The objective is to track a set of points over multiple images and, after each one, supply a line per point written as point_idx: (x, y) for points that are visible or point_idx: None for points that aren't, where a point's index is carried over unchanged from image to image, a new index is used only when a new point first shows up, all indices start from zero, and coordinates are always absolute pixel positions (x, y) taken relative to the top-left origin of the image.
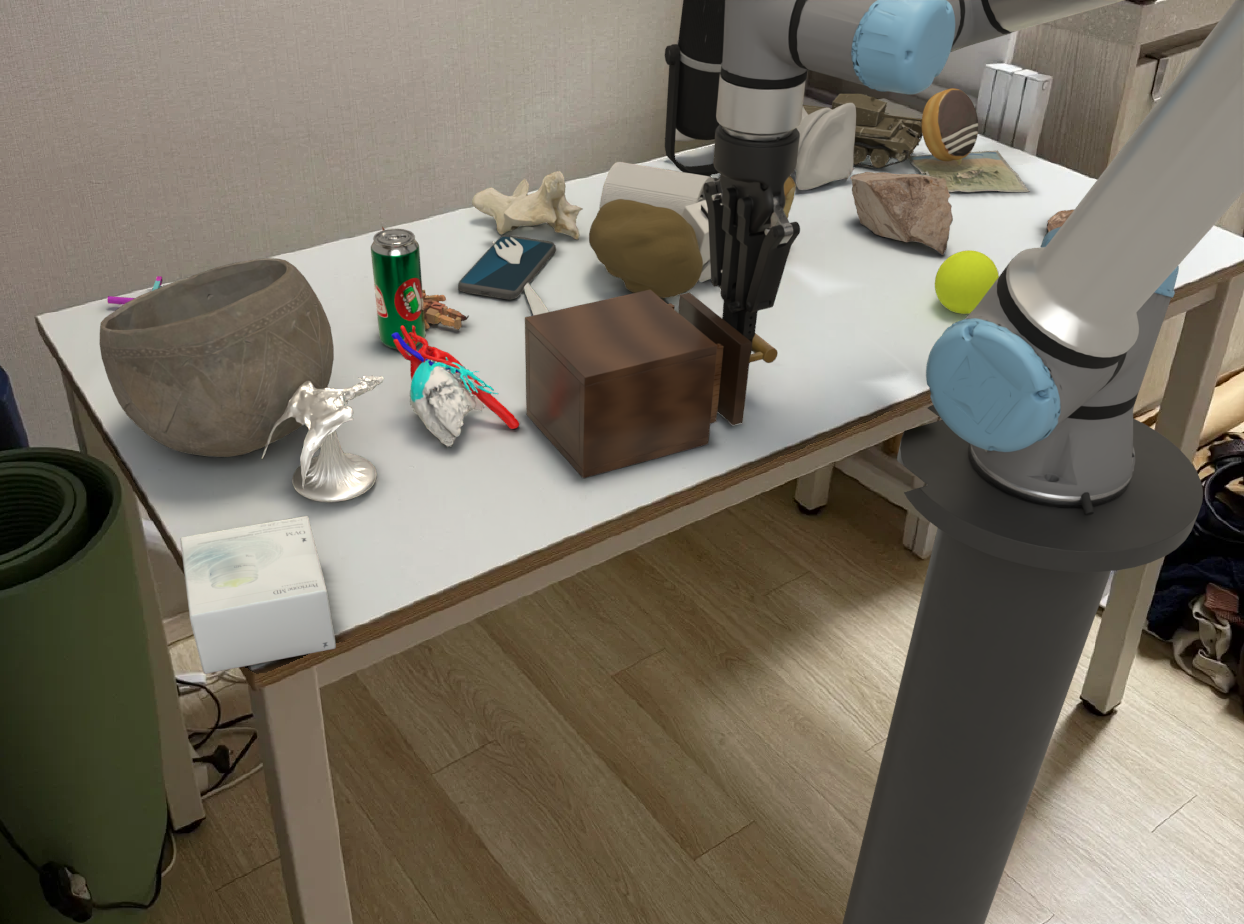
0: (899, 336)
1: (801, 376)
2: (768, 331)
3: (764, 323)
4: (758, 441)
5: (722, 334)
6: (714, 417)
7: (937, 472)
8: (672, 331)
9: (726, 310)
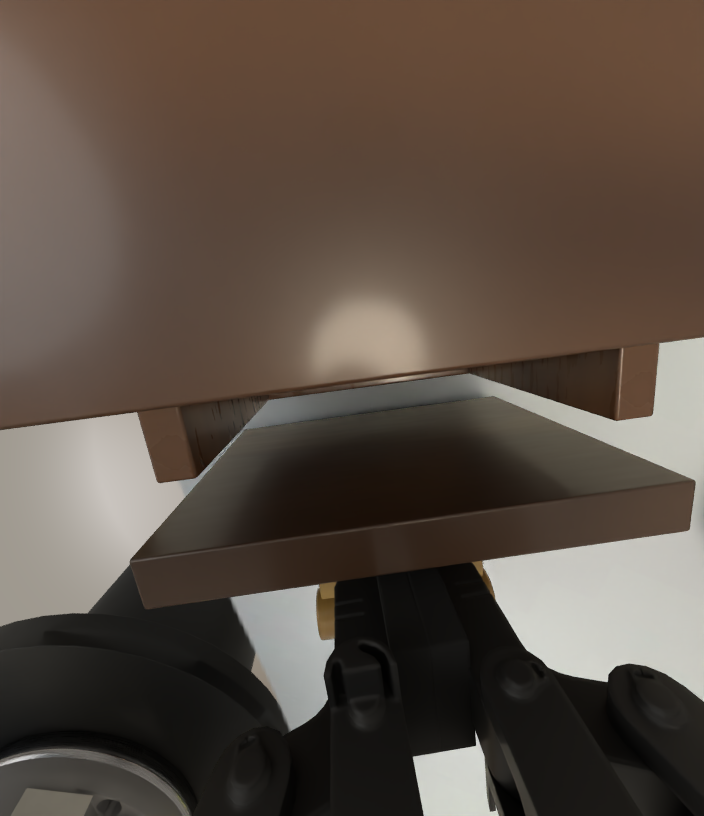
0: (464, 790)
1: None
2: (574, 626)
3: (602, 630)
4: (212, 461)
5: (294, 523)
6: None
7: (87, 685)
8: (235, 217)
9: (437, 616)
